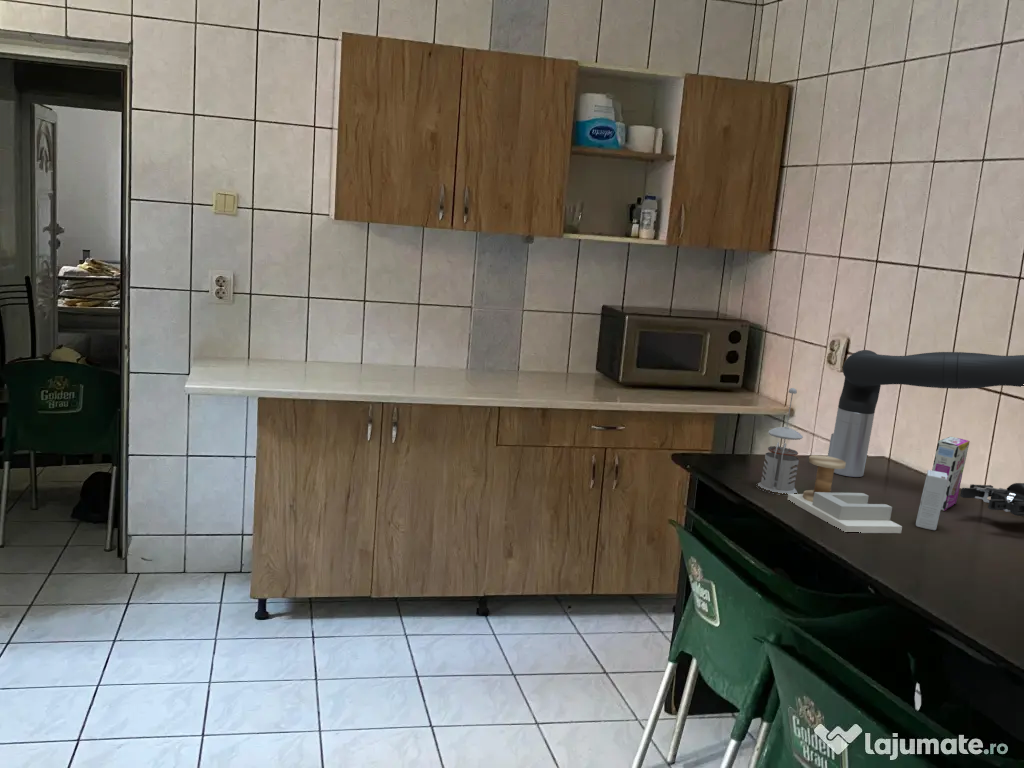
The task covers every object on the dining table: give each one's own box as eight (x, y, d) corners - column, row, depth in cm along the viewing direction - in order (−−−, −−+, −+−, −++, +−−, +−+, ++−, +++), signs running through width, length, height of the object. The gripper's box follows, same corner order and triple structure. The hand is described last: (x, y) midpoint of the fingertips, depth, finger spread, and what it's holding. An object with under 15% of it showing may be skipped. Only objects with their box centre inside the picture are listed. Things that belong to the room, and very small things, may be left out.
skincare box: (916, 520, 210) (925, 468, 208) (937, 524, 208) (947, 472, 206) (915, 526, 204) (925, 474, 202) (937, 531, 202) (948, 478, 200)
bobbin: (795, 493, 215) (802, 454, 213) (825, 494, 217) (831, 455, 216) (816, 504, 208) (822, 464, 206) (846, 505, 210) (853, 465, 208)
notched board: (787, 499, 215) (790, 481, 214) (838, 500, 219) (841, 482, 218) (845, 532, 194) (849, 512, 193) (900, 533, 198) (904, 513, 197)
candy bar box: (945, 512, 219) (959, 445, 216) (923, 506, 222) (936, 440, 219) (957, 504, 228) (970, 439, 225) (936, 498, 231) (949, 435, 228)
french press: (800, 488, 226) (816, 389, 222) (793, 499, 216) (810, 395, 211) (759, 480, 230) (775, 382, 226) (751, 490, 220) (767, 388, 215)
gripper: (1011, 475, 219) (955, 473, 214) (1061, 493, 206) (1003, 492, 201) (1004, 505, 220) (949, 504, 216) (1054, 525, 207) (996, 525, 202)
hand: (975, 498), depth 208 cm, fingers open, 8 cm apart
